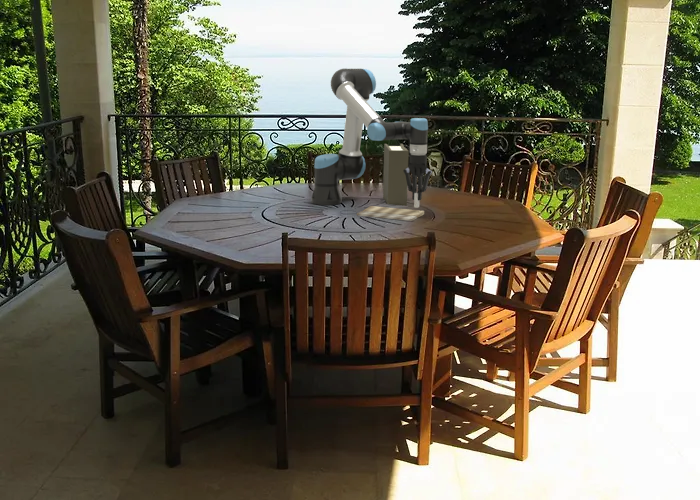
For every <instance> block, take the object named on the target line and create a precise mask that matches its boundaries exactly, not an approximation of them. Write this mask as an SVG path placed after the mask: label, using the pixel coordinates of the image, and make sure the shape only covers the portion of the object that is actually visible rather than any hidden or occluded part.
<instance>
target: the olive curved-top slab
mask: <svg viewBox="0 0 700 500" xmlns="http://www.w3.org/2000/svg"><path fill="white" fill-rule="evenodd" d="M383 145H384V146H383V147H384V150H383V152H384V153H383V179H382V180H383V181H382V182H383V187H382V199H383V200H385V203H386V205H391V206H392V205H393V206H404V207H407V206H408V185H407V180H406V175H405V173H404V172H403V170H405V169H407V168H408V166H409V157H410V149H407V148H406V147H405V146H404V144H403V143H400V144H399V145H389V144H387V143H384V144H383Z"/></svg>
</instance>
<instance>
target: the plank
mask: <svg viewBox="0 0 700 500" xmlns="http://www.w3.org/2000/svg"><path fill="white" fill-rule="evenodd" d="M362 211H368V212H378V213H388V214H398V215H408V216H417V218H416V219H419V218H421V217H422V216H423V215H425V211H424V210H417V209H408V208H407V209H406V208H397V207H396V208H395V207H386V206H375V205H369V206H368V207H367V208H365V209H363V210H362Z"/></svg>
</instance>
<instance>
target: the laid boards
mask: <svg viewBox="0 0 700 500" xmlns="http://www.w3.org/2000/svg"><path fill="white" fill-rule="evenodd" d="M356 216H361V217H369V218H379V219H380V218H381V219H389V220H391V219H392V220H399V221H408V222H412V221H414V220H416V219H418V218H417V216H408V215H398V214H388V213H378V212H368V211H363V210H361V211H359V212H357V213H356Z"/></svg>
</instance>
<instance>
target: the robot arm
mask: <svg viewBox="0 0 700 500" xmlns="http://www.w3.org/2000/svg"><path fill="white" fill-rule="evenodd" d="M376 87H377V80H376V76H375V75H374V73H373V72H372V71H371V70H370V69H367V68H340V69H338V70H337V71H335V72H334V73H333V75H332V77H331V80H330V89H331V91H332V93H333V94H334V96H335V97H336V98H337V99H338V100H341V101H343V102H344V103H345V105H346V113H345V114H346V115H345V121H344V122H345V123H344V133H343V140H342V148H341V149H339V151H338V154H336V153H325V154H321V155H317V156H316V157H315V159H314V166H313V167H314V189H313V191H312V195H311V197H310V201H311V202H310V203H311V204H313V205H320V206H335V205H339V204H341V203H342V201H343V200H342V199H343V197H342V195H341V191H340V189H339V181H342V180H343V181H344V180H354V179H358V178H360V177H362V175H364V172H365V171H366V160H365V158H364V156H363V153H362V151H361V150H360V149H361V142H362V134H363V128H364V127H363V126H365V127H366V128H367V129H366V134H367V137H368V138H369V140H371V141H377V142H380V141H381V142H382V141H391V140H409V159H408V168H407V169H405V170H403V172H404V173H405V175H406V180H407V191H409V192H411V193H412V195H411V196H412V198H411V199H412V201H413V209H414V208H415V209H418V208H420V201H421V200H422V198H423V197H422V195H423V193H424V192H425V193H426V191H427V188H428V184H429V180H430V177H431V175H432V173H433V170H430V169H429V168H428V166H427V165H428V164H427V162H428V160H427V159H428V158H427V157H428V156H427V153H428V132H429V124H428V123H429V122H428V119H427V118H424V117H422V118H421V117H419V118H418V117H414V118H411V119H410V121H394V122H393V121H392V122H386V121H385V120H384V119H383V118H382V117H381V116H380V115H379V114H378V113H377V111H376V110H374V108H373V107H372V106H371V105H370V104H369V102H367V101H369V100H370V95H372V94H373V93H374V91H375V90H376ZM424 174H425V176H424ZM411 177H412V179H411ZM423 177H424V181H423Z"/></svg>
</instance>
